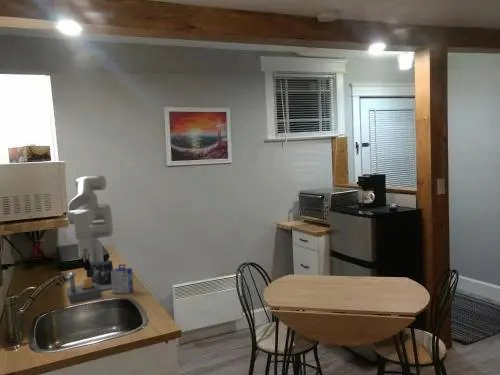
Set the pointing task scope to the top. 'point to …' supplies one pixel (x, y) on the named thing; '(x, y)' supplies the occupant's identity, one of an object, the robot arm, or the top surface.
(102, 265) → the small box
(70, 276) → the clip
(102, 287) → the pad
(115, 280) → the ink cartridge box
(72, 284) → the socket block
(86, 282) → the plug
